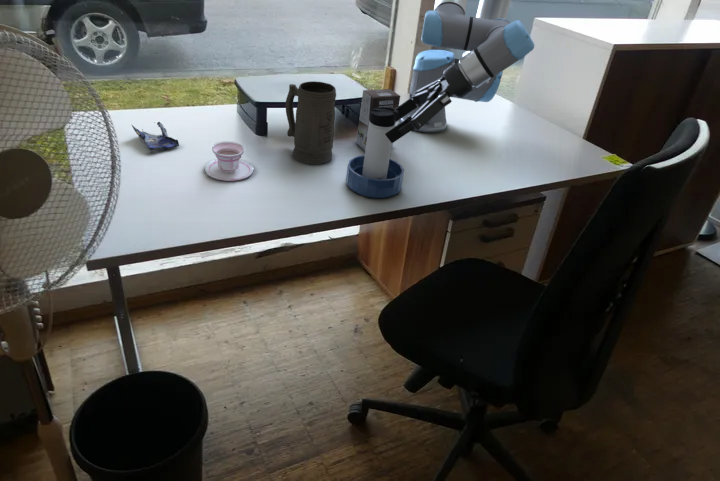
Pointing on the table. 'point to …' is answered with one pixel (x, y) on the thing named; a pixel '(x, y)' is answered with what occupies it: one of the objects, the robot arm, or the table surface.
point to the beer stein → (312, 121)
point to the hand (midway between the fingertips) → (390, 127)
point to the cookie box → (370, 102)
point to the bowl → (374, 186)
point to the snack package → (157, 139)
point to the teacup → (228, 162)
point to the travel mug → (378, 143)
